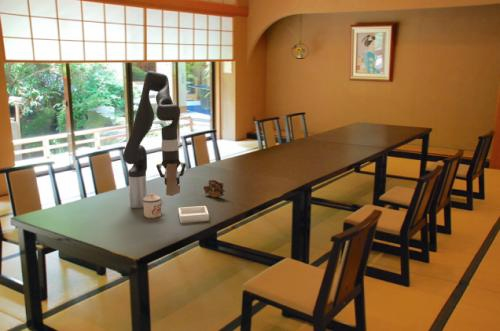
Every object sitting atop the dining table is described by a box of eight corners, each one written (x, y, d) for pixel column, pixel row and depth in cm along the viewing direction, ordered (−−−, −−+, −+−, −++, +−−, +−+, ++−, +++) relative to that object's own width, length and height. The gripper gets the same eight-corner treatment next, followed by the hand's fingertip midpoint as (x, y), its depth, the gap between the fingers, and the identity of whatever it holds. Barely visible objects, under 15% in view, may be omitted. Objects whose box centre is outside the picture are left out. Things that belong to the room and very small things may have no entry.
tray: (180, 223, 241) (179, 216, 240) (178, 214, 254) (178, 207, 253) (209, 220, 243) (208, 213, 242) (205, 212, 257) (205, 205, 256)
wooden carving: (201, 195, 287) (200, 179, 285) (206, 194, 291) (206, 177, 288) (223, 200, 277) (222, 182, 275) (228, 198, 281) (227, 181, 279)
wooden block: (171, 196, 226) (172, 164, 222) (165, 194, 228) (166, 163, 224) (180, 192, 232) (181, 161, 228) (174, 191, 233) (175, 160, 229)
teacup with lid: (154, 219, 247) (152, 196, 245) (140, 216, 252) (138, 194, 249) (169, 212, 258) (167, 190, 255) (155, 210, 262) (153, 188, 259)
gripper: (185, 146, 230) (187, 182, 234) (154, 148, 227) (156, 184, 231) (186, 149, 223) (188, 186, 227) (154, 151, 220) (156, 188, 224)
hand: (172, 185), depth 229 cm, fingers closed on wooden block, 4 cm apart
